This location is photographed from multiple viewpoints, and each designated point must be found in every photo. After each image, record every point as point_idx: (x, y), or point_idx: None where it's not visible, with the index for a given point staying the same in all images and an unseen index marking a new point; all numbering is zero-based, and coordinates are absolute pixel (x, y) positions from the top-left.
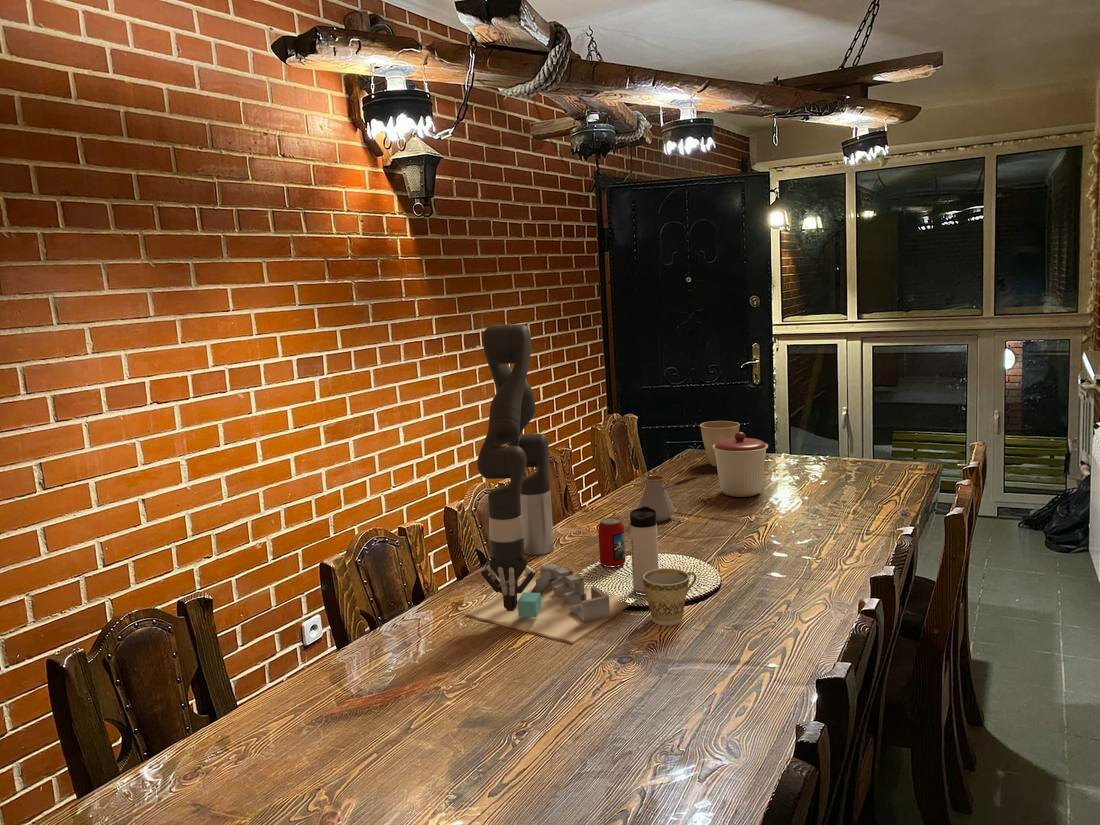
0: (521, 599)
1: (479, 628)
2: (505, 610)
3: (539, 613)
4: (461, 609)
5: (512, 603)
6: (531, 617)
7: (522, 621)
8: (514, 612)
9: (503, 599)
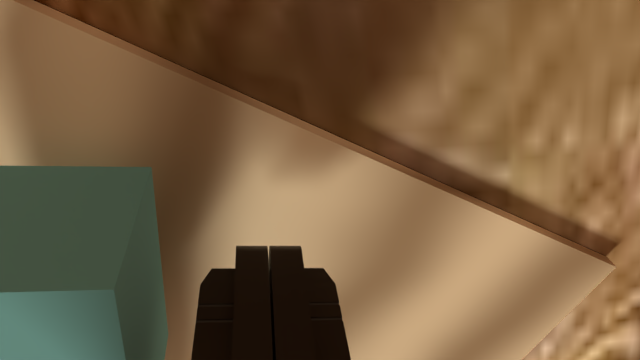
0: (76, 337)
1: (513, 63)
2: None
3: None
4: (623, 327)
5: (233, 306)
6: None
7: None
8: None
9: (345, 341)
